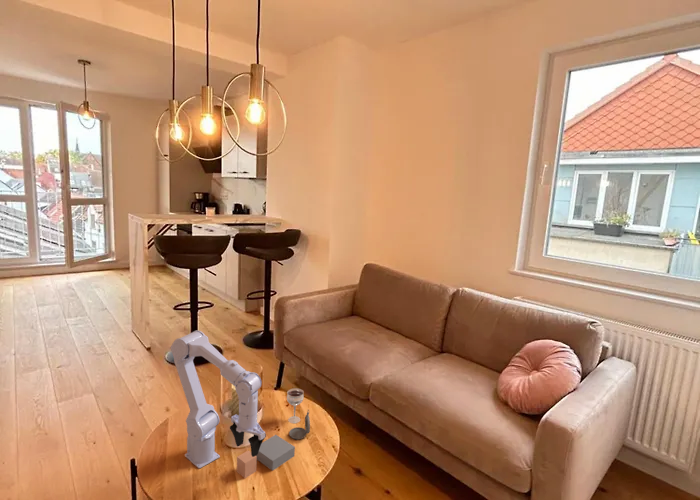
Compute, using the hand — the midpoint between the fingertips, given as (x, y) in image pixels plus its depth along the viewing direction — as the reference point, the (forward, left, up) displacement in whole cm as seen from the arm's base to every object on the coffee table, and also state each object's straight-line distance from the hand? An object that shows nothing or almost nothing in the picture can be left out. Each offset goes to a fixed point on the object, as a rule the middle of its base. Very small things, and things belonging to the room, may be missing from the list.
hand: (247, 449), depth 129 cm
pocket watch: (-2, +26, -9) cm, 28 cm away
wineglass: (-11, +31, -9) cm, 34 cm away
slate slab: (0, +11, -9) cm, 14 cm away
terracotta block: (-1, 0, -9) cm, 9 cm away
